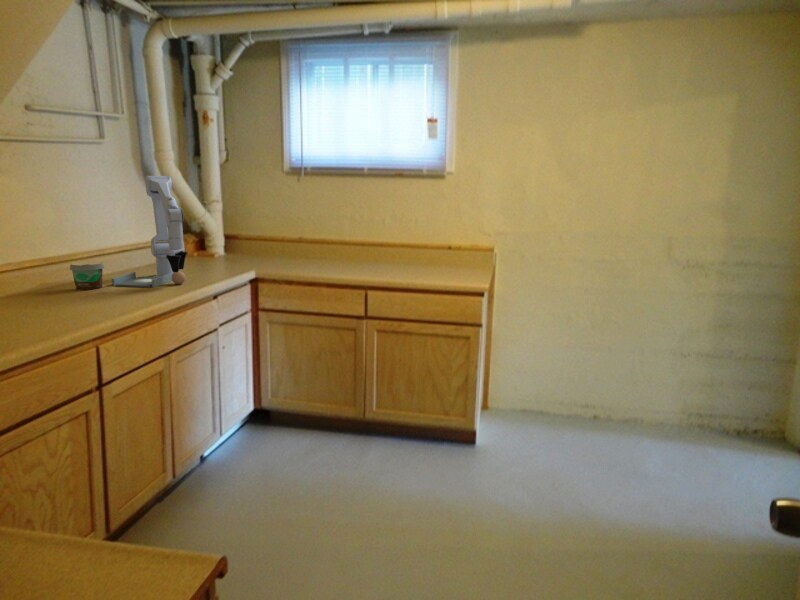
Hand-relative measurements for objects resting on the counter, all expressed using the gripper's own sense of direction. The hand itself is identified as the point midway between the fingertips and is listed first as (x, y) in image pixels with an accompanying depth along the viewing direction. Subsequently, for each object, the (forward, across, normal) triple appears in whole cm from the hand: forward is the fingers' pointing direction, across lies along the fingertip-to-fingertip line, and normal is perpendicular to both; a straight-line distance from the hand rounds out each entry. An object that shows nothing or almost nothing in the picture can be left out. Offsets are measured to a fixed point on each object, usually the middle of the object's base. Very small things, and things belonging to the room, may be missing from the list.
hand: (178, 270), depth 241 cm
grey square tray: (+6, -3, -15) cm, 17 cm away
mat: (+6, -3, -15) cm, 17 cm away
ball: (+3, 0, 0) cm, 3 cm away
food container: (+6, +10, -33) cm, 35 cm away
